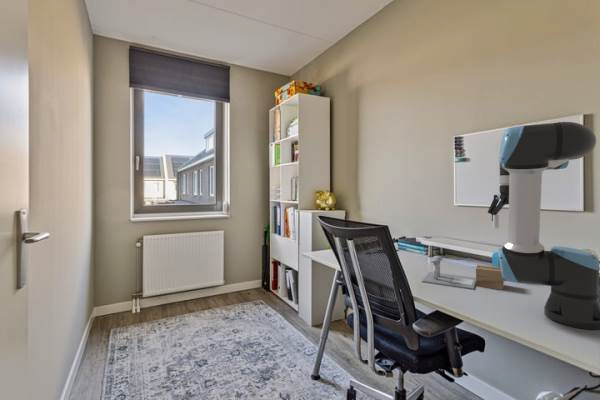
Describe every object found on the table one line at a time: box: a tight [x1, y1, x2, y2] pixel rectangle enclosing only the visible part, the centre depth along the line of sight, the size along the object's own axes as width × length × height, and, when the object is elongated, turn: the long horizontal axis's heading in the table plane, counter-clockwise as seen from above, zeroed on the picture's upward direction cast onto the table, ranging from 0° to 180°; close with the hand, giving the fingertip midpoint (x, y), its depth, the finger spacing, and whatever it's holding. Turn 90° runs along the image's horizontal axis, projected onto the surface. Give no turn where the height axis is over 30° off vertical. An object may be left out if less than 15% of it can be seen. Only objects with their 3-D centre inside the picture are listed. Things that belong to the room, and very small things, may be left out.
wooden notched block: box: [475, 264, 505, 291], centre depth 133 cm, size 7×10×8 cm
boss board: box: [421, 255, 476, 290], centre depth 141 cm, size 16×21×10 cm
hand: (509, 229), depth 141 cm, fingers open, 13 cm apart
